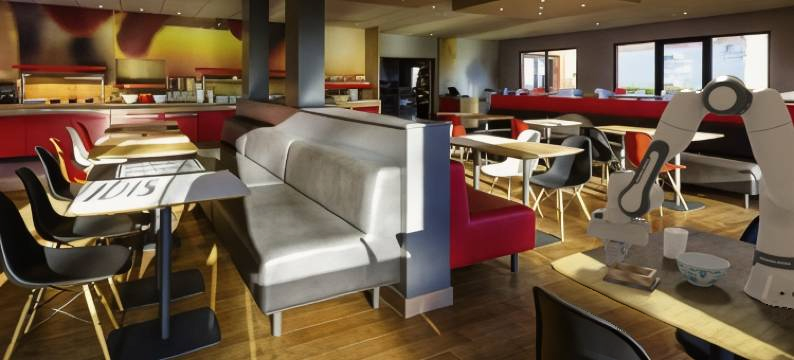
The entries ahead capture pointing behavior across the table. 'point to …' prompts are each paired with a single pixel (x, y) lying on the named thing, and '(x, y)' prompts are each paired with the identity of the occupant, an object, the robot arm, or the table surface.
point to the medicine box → (614, 252)
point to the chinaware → (702, 268)
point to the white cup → (674, 242)
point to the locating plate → (632, 276)
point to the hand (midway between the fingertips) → (615, 252)
